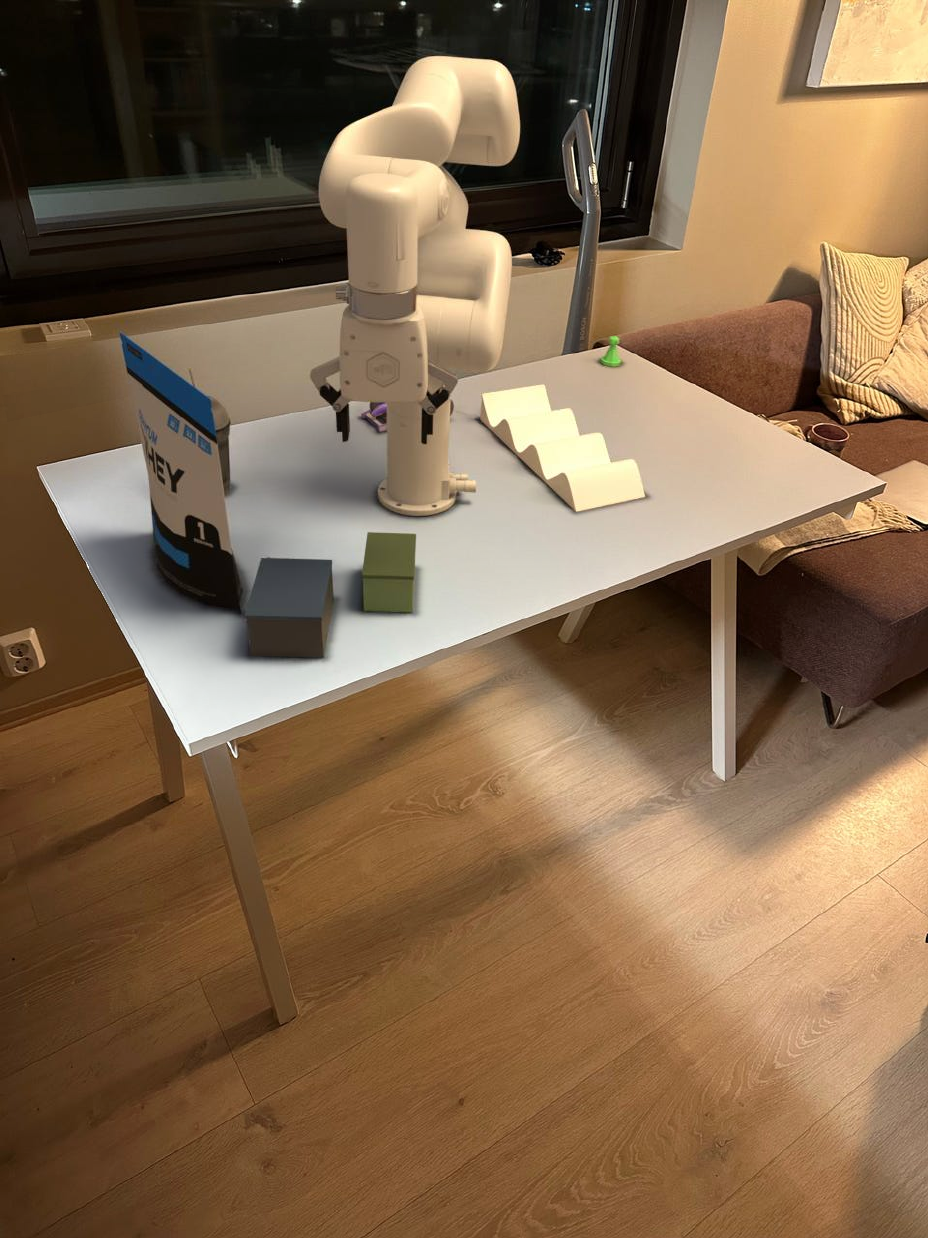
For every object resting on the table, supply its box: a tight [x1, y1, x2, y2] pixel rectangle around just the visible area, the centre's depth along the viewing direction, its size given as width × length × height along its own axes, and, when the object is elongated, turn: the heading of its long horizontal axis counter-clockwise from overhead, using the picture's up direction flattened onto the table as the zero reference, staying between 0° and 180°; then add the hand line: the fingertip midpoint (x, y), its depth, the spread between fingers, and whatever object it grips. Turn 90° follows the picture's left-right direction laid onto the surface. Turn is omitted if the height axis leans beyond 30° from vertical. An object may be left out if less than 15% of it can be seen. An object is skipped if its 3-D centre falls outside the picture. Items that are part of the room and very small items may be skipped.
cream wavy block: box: [480, 383, 646, 513], centre depth 153 cm, size 13×35×5 cm, turn 25°
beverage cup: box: [188, 367, 231, 496], centre depth 133 cm, size 7×7×20 cm
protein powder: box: [118, 331, 244, 615], centre depth 113 cm, size 10×24×30 cm, turn 40°
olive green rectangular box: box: [361, 531, 417, 613], centre depth 119 cm, size 10×7×6 cm, turn 1°
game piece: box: [600, 335, 622, 368], centre depth 187 cm, size 4×4×6 cm
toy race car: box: [361, 399, 455, 433], centre depth 161 cm, size 10×15×6 cm, turn 123°
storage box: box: [243, 557, 335, 659], centre depth 112 cm, size 12×9×6 cm
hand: (385, 437), depth 108 cm, fingers open, 9 cm apart
